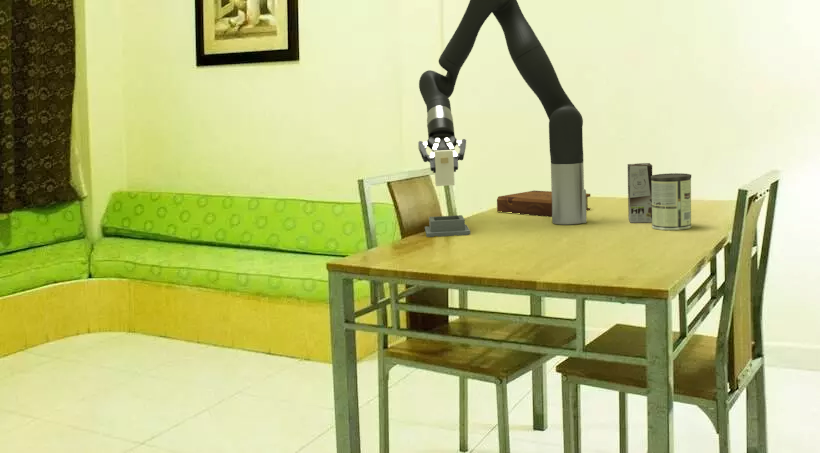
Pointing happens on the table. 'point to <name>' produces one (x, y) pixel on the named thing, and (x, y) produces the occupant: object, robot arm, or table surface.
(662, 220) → the coffee can
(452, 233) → the grey stepped pedestal
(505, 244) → the table surface
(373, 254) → the table surface
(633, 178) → the coffee box
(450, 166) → the cream block
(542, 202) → the diary
